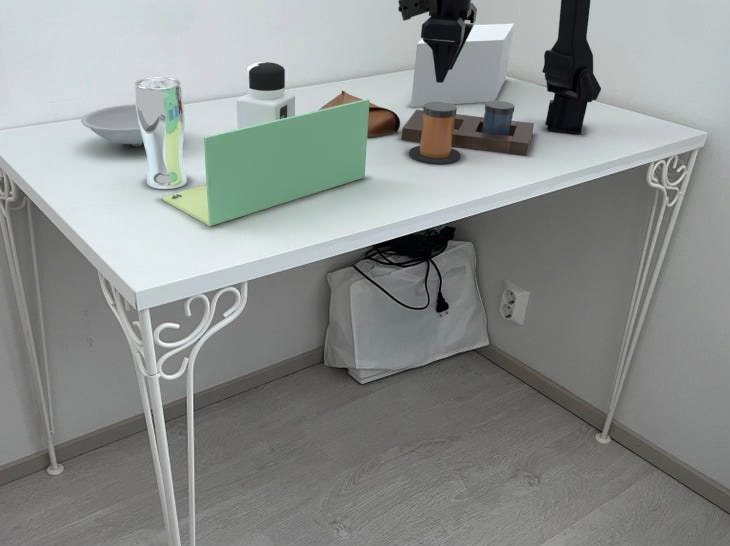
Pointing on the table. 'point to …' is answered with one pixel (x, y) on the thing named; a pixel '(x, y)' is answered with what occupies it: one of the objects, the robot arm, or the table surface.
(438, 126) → the amber jar
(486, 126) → the spice jar
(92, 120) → the dish
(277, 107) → the container
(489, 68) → the block
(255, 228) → the table surface
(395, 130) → the sunglasses case
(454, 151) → the coaster
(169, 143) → the beer glass
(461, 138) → the jar stand
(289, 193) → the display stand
